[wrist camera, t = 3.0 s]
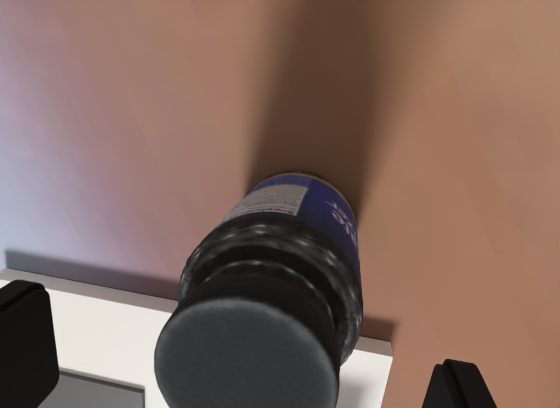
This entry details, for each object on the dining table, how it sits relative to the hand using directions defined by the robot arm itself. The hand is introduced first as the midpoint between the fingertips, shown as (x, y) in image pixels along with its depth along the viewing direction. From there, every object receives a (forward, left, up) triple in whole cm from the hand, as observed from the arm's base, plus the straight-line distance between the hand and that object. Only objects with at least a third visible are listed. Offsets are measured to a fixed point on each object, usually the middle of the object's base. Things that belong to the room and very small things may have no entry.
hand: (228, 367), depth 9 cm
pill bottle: (0, 0, -11) cm, 11 cm away
